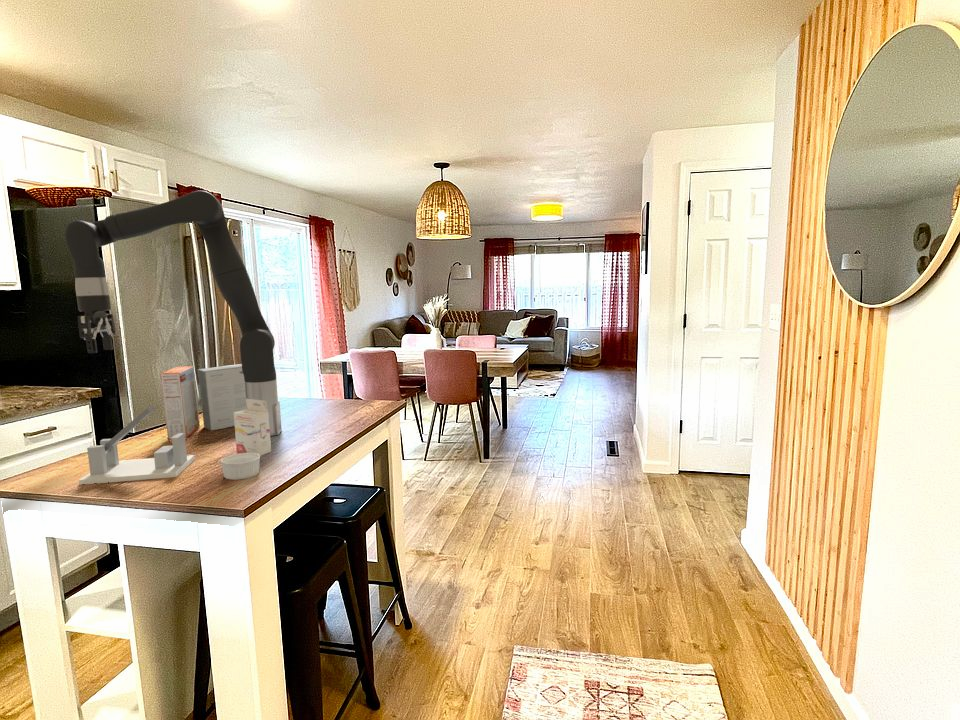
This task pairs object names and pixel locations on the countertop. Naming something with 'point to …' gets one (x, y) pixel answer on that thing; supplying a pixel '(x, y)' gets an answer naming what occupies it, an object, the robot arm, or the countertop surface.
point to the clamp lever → (128, 428)
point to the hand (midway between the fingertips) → (100, 351)
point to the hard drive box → (221, 395)
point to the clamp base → (137, 463)
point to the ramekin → (240, 465)
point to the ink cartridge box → (253, 428)
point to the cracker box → (180, 401)
